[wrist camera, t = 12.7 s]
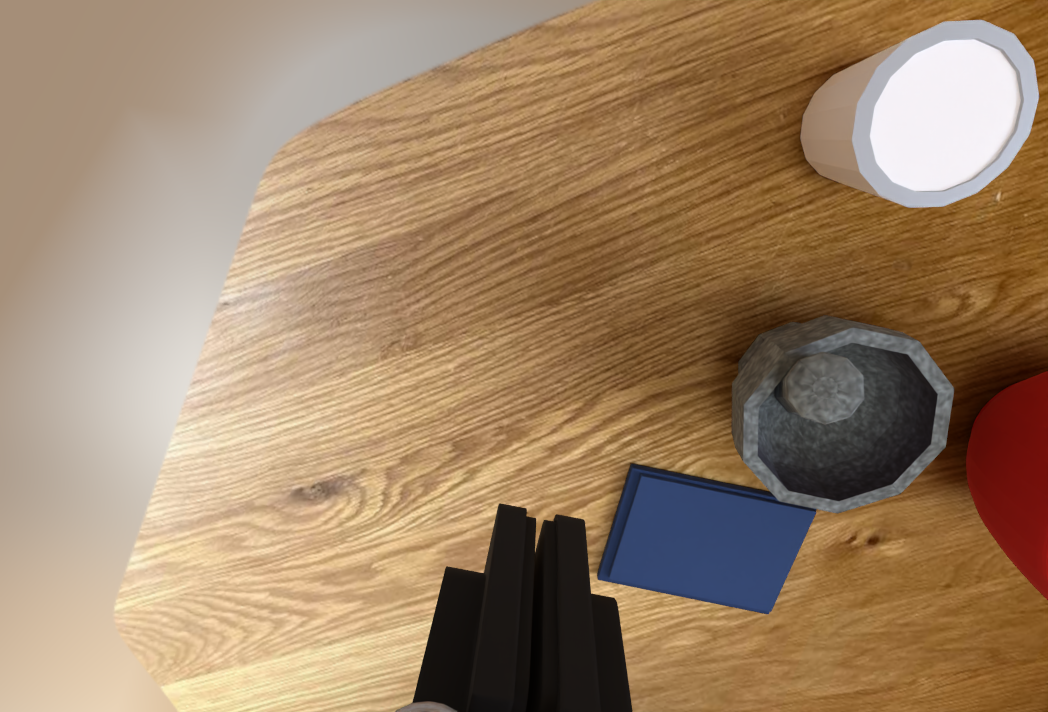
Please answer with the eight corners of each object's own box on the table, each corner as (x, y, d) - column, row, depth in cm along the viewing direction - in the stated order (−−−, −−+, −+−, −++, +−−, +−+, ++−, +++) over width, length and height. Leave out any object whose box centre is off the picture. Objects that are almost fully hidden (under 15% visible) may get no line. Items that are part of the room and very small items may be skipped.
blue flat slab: (596, 573, 39) (597, 584, 38) (630, 463, 36) (632, 471, 35) (766, 608, 39) (771, 619, 39) (814, 500, 36) (821, 510, 35)
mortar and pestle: (908, 382, 33) (1085, 502, 22) (771, 472, 36) (867, 621, 25) (797, 237, 31) (934, 289, 20) (659, 346, 33) (709, 446, 22)
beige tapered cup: (763, 108, 29) (823, 97, 22) (895, 16, 27) (1002, -26, 21) (824, 221, 30) (897, 241, 24) (952, 141, 29) (1067, 139, 22)
